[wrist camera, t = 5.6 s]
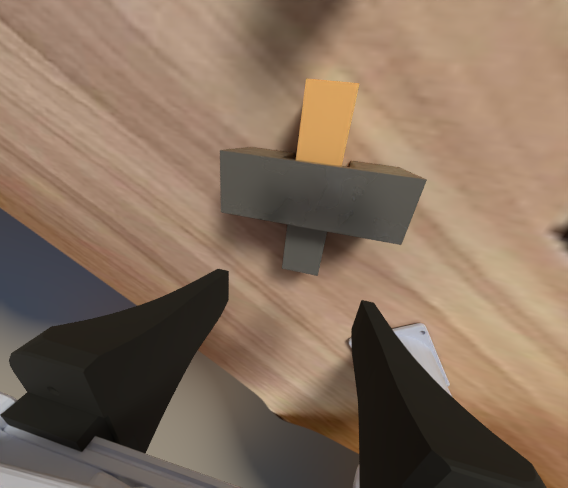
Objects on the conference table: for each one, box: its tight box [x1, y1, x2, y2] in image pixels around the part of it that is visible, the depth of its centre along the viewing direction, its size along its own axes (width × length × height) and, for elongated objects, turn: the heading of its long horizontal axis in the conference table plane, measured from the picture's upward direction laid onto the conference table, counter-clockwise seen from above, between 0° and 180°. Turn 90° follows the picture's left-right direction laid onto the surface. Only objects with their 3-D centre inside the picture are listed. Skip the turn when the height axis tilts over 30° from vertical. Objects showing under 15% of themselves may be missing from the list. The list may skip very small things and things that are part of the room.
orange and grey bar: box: [282, 79, 359, 276], centre depth 17 cm, size 13×3×4 cm, turn 174°
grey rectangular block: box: [220, 147, 426, 245], centre depth 16 cm, size 4×12×6 cm, turn 84°
